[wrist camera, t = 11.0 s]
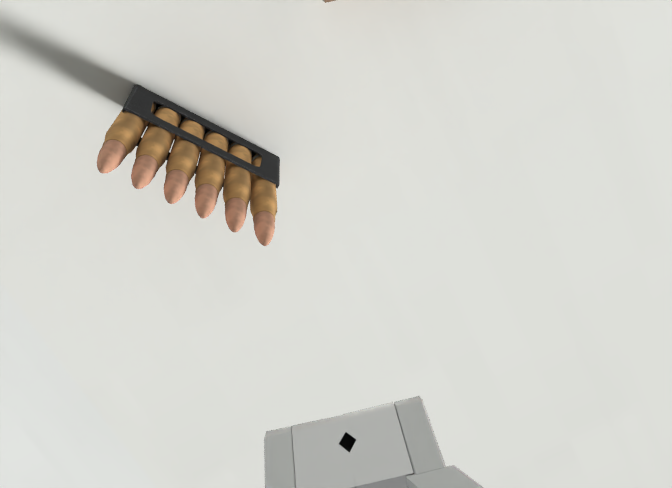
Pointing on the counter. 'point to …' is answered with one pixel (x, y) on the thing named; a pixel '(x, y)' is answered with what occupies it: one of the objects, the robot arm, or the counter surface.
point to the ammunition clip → (194, 160)
